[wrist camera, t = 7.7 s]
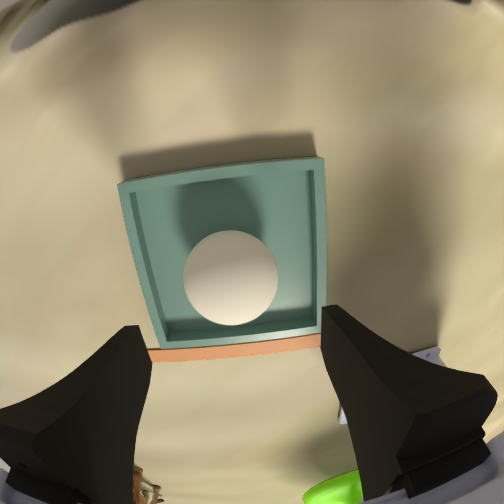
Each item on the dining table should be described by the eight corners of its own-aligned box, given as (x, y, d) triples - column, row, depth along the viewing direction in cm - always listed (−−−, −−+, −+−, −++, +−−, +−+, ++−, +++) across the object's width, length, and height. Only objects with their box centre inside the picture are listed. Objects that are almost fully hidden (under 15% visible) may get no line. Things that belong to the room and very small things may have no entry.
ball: (268, 214, 18) (283, 245, 13) (274, 290, 19) (287, 338, 15) (182, 224, 17) (166, 258, 13) (196, 298, 19) (188, 348, 15)
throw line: (338, 330, 21) (338, 330, 21) (337, 342, 22) (337, 343, 22) (105, 350, 21) (105, 351, 21) (110, 361, 22) (110, 362, 21)
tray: (317, 156, 17) (323, 158, 15) (320, 320, 21) (325, 331, 20) (125, 180, 16) (117, 184, 15) (164, 336, 21) (160, 348, 19)
